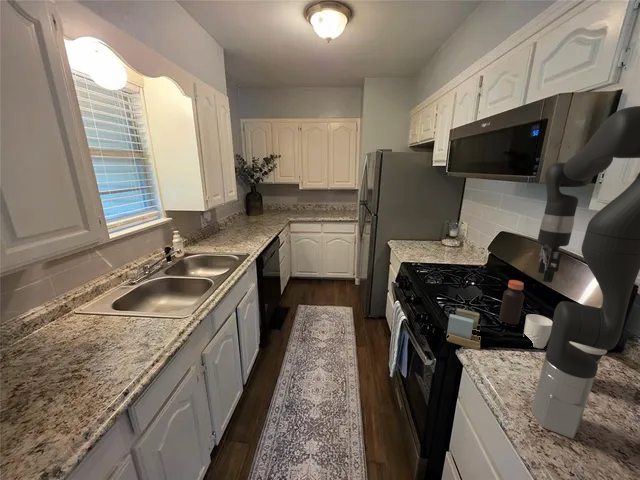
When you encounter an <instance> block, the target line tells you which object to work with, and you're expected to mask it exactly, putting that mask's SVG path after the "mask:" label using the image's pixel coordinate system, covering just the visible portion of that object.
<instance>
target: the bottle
mask: <svg viewBox="0 0 640 480" xmlns="http://www.w3.org/2000/svg"><path fill="white" fill-rule="evenodd" d="M524 285H525V284H524V282H522V281H520V280H516V279H510V280H508V285H507V289H506V290H504V291H503V295H502V301H501V306H500V310H499V317H498V320H499V319H500V320H501V321H503V322H505V323H509V324H518V323H520V318H521V314H522V313H521V312H522V310H523V306H524V304H523V303H524V301H525V295H524V293H523V290H524V287H525V286H524ZM518 325H519V324H518Z"/></svg>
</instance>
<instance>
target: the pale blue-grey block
mask: <svg viewBox="0 0 640 480" xmlns="http://www.w3.org/2000/svg"><path fill="white" fill-rule="evenodd" d="M473 321H474V320H473V319H469V318H465V317H461V316H457V315H456V314H452V313H450V314H449V318H448V323H447V331H446V337H447V336H448V335H449V334H452V335H455V336H458V337H462V338H465V339H469V340H471V334H472V328H473Z"/></svg>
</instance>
